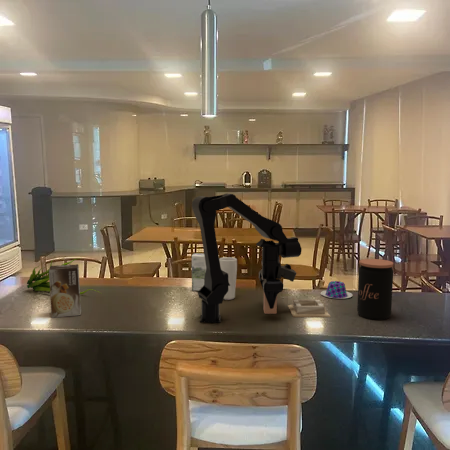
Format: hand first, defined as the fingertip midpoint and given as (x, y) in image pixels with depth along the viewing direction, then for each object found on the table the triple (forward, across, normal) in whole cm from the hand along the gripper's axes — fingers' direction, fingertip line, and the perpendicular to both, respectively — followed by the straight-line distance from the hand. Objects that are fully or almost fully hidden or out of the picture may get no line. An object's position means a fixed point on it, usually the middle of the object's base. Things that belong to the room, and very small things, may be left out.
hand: (270, 304), depth 147 cm
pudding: (+3, +20, -28) cm, 35 cm away
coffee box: (+3, -2, +68) cm, 68 cm away
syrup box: (+3, +28, +25) cm, 38 cm away
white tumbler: (+3, +16, +14) cm, 21 cm away
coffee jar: (+3, -4, -34) cm, 34 cm away
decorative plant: (+3, +22, +78) cm, 81 cm away
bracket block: (+3, 0, 0) cm, 3 cm away
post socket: (+2, 0, -13) cm, 13 cm away
